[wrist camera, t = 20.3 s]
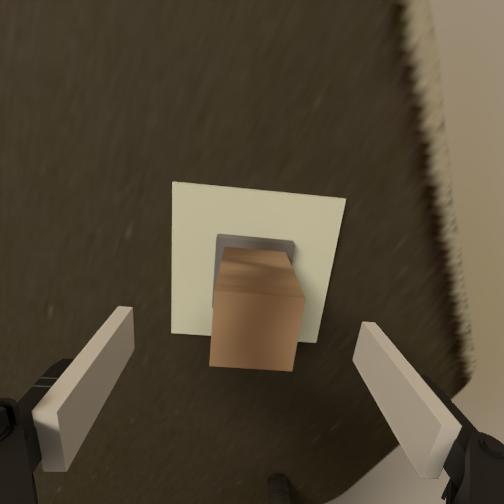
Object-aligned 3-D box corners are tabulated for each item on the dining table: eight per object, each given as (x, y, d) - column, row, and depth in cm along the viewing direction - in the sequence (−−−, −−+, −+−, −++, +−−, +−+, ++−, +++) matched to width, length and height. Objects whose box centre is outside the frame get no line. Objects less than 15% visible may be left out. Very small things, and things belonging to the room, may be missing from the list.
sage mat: (173, 329, 27) (171, 332, 26) (174, 181, 22) (172, 182, 22) (314, 339, 27) (316, 342, 27) (343, 198, 23) (346, 199, 22)
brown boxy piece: (213, 301, 25) (197, 374, 16) (217, 233, 23) (201, 277, 14) (282, 306, 25) (301, 381, 17) (292, 240, 23) (320, 287, 15)
